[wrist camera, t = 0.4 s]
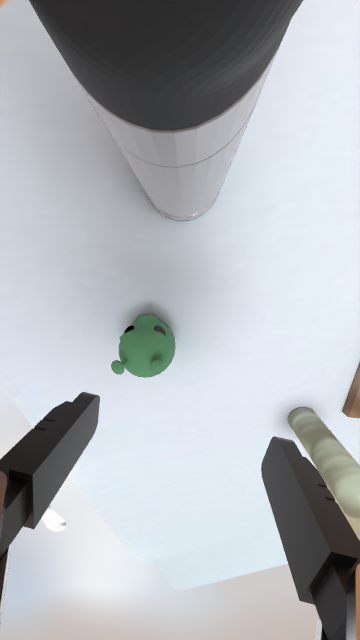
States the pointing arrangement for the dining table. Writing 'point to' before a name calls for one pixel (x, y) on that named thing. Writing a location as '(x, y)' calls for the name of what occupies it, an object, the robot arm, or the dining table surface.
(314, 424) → the pale green cylinder
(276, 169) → the dining table surface
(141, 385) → the dining table surface
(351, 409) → the jig
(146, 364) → the alien toy
